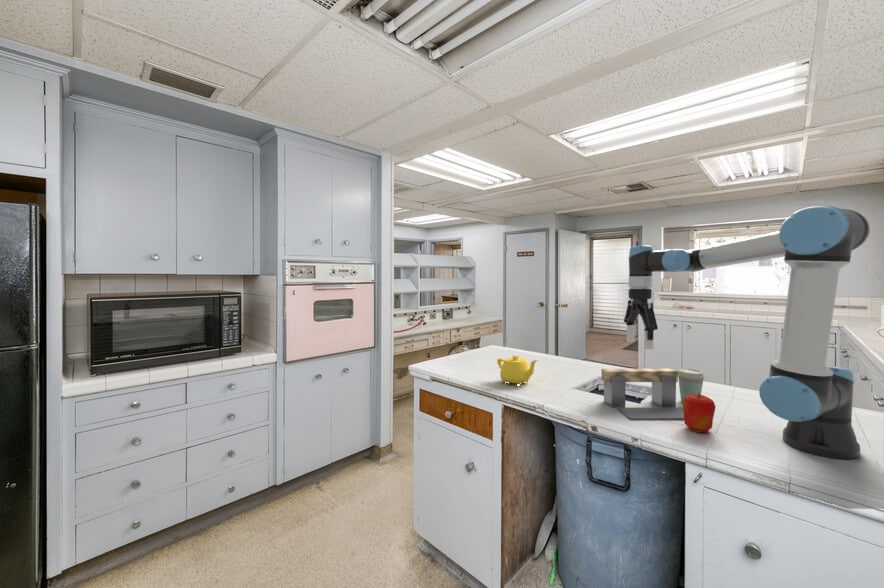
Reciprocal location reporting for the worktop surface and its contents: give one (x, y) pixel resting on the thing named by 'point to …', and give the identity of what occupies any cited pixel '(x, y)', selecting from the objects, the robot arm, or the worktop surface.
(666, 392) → the rack
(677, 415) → the mat
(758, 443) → the worktop surface
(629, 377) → the rail
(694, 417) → the apple
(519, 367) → the teapot
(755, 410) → the worktop surface
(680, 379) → the coffee cup
